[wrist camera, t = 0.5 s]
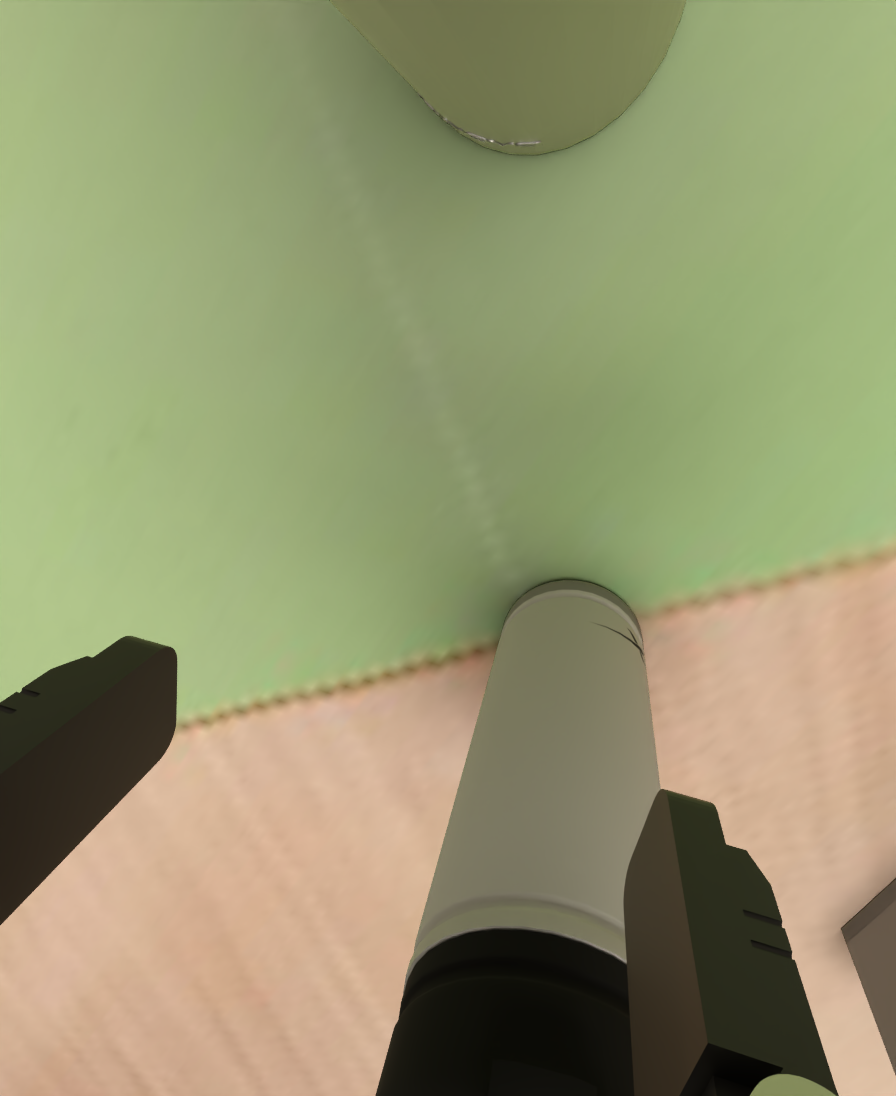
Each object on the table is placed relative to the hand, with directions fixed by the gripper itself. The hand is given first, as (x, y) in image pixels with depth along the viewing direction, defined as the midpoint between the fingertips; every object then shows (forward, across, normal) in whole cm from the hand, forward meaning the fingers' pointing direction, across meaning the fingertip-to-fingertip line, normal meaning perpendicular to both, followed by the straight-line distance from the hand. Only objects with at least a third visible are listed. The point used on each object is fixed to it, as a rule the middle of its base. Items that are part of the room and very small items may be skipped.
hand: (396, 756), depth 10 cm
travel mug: (+18, -4, +6) cm, 20 cm away
